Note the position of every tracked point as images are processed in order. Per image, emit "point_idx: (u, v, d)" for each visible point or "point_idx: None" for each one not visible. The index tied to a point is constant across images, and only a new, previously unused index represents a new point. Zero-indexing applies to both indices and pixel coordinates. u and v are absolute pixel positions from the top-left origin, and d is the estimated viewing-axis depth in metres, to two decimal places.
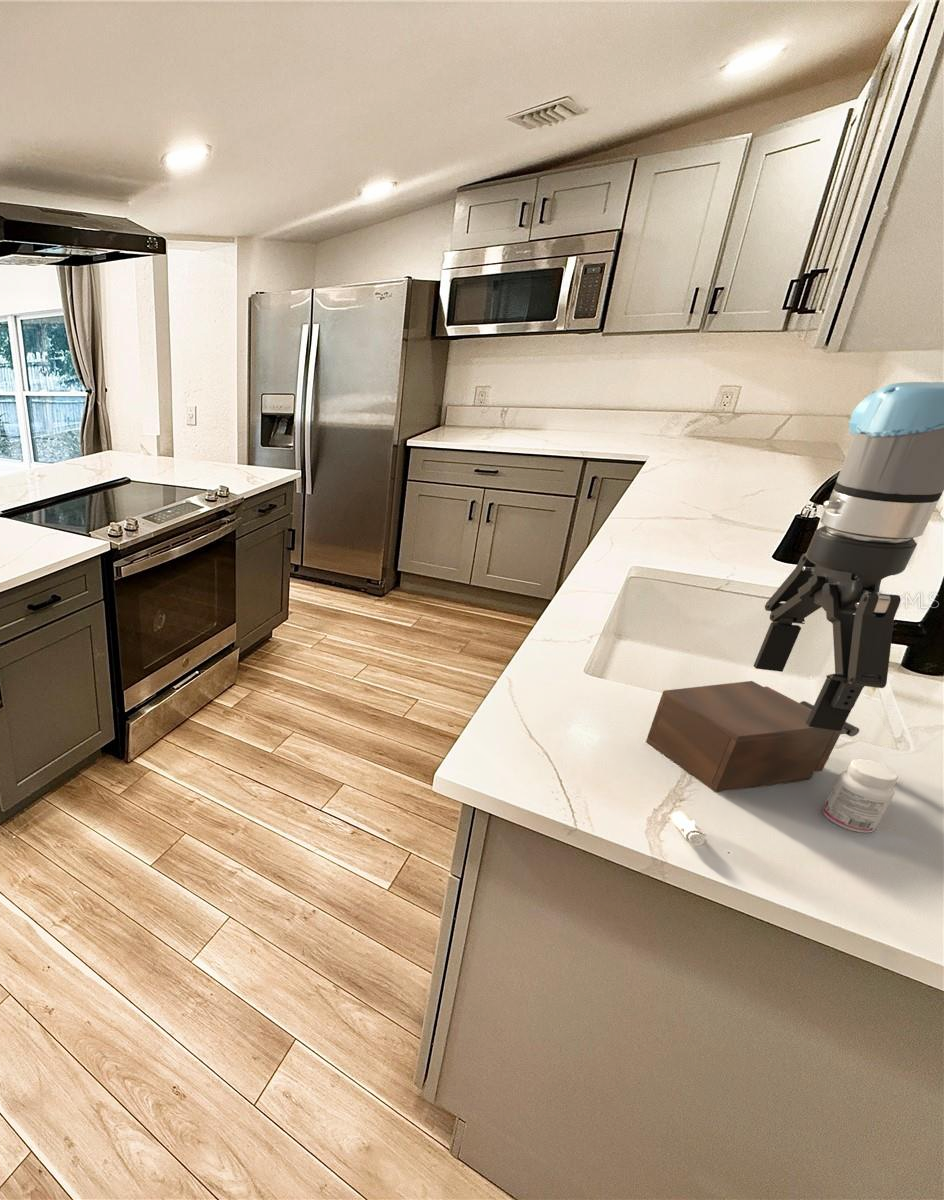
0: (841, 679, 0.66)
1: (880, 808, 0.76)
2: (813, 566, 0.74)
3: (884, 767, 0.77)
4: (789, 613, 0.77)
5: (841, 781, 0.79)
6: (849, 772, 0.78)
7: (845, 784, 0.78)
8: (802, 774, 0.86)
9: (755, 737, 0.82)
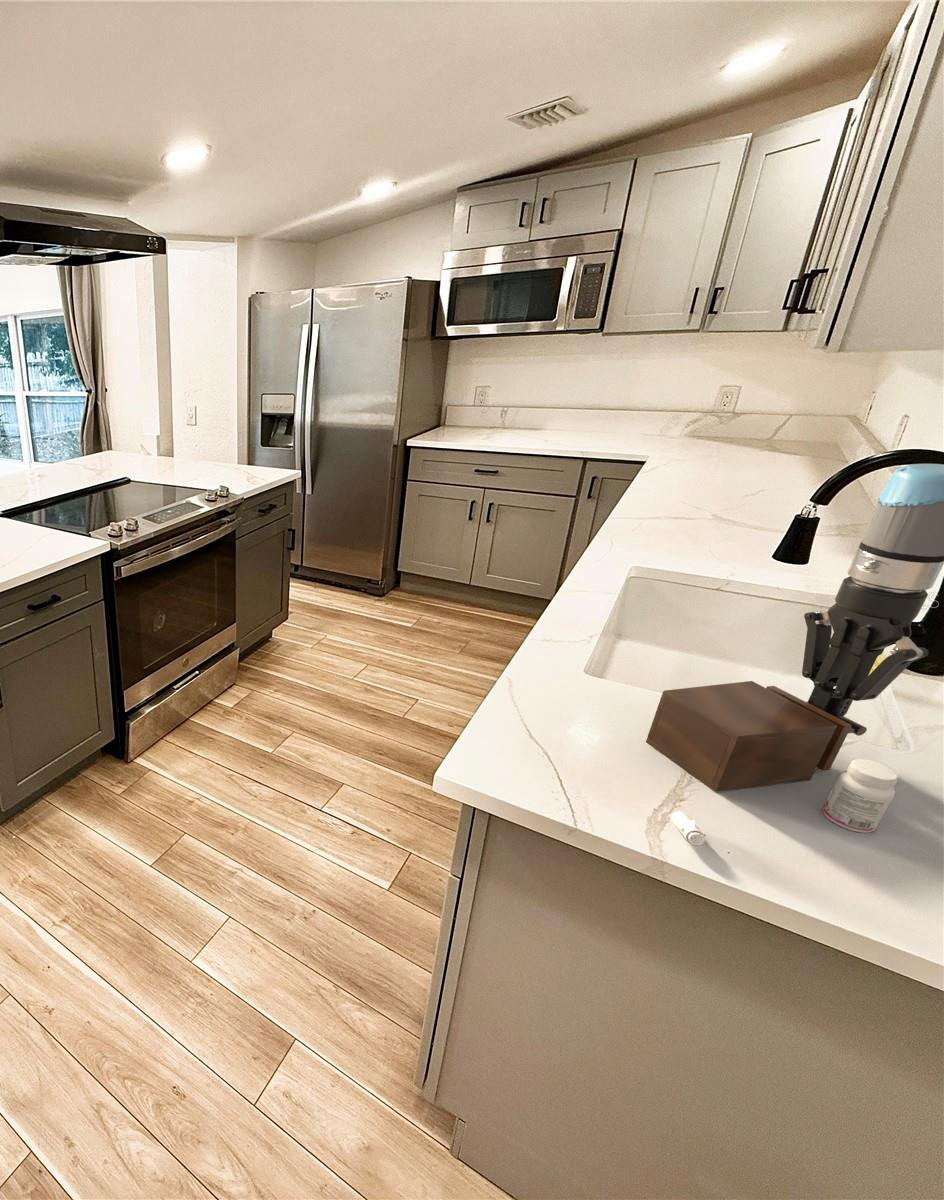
0: (840, 697, 0.87)
1: (880, 808, 0.76)
2: (822, 619, 0.88)
3: (884, 767, 0.77)
4: (833, 671, 0.88)
5: (841, 781, 0.79)
6: (849, 772, 0.78)
7: (845, 784, 0.78)
8: (802, 774, 0.86)
9: (755, 737, 0.82)
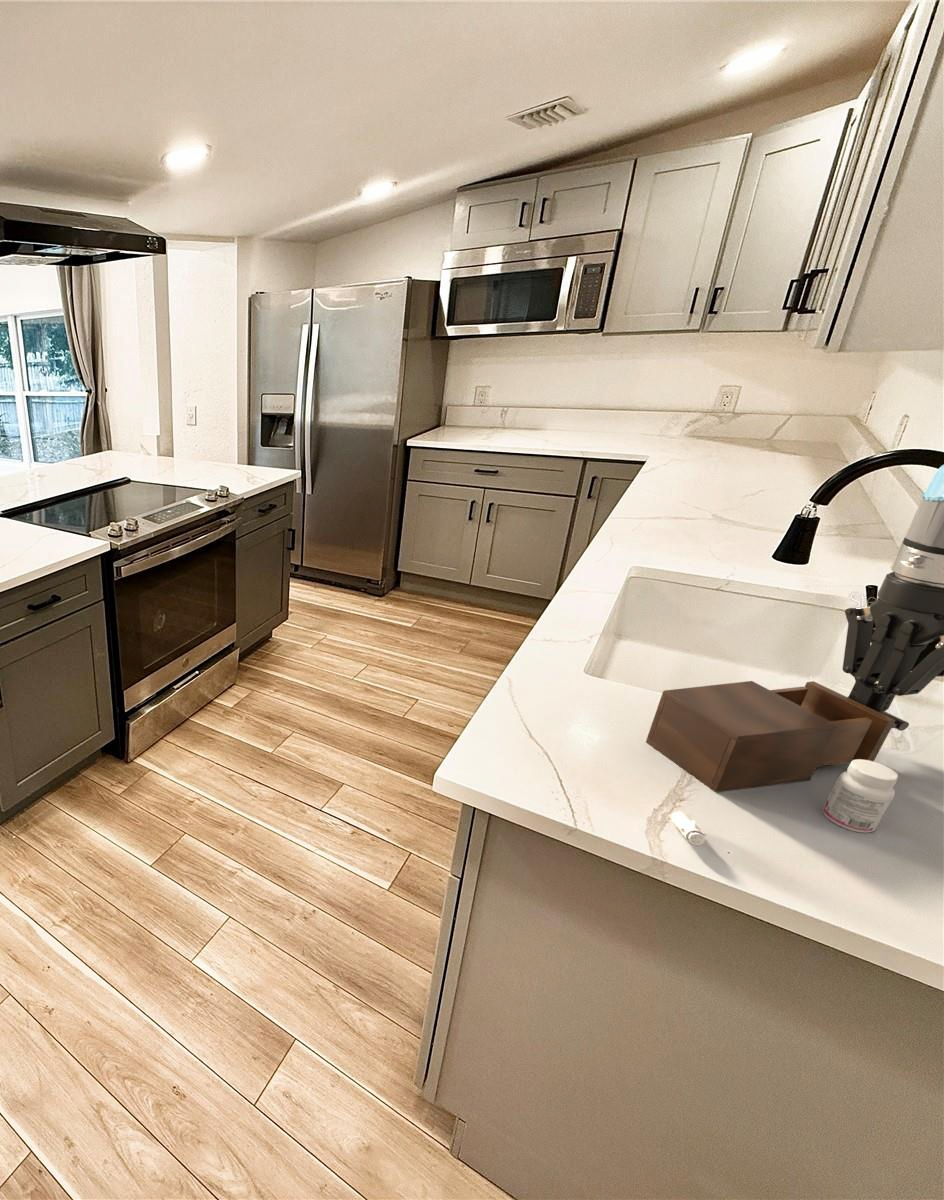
0: (882, 692, 0.87)
1: (880, 808, 0.76)
2: (863, 614, 0.89)
3: (884, 767, 0.77)
4: (875, 667, 0.88)
5: (841, 781, 0.79)
6: (849, 772, 0.78)
7: (845, 784, 0.78)
8: (802, 774, 0.86)
9: (755, 737, 0.82)
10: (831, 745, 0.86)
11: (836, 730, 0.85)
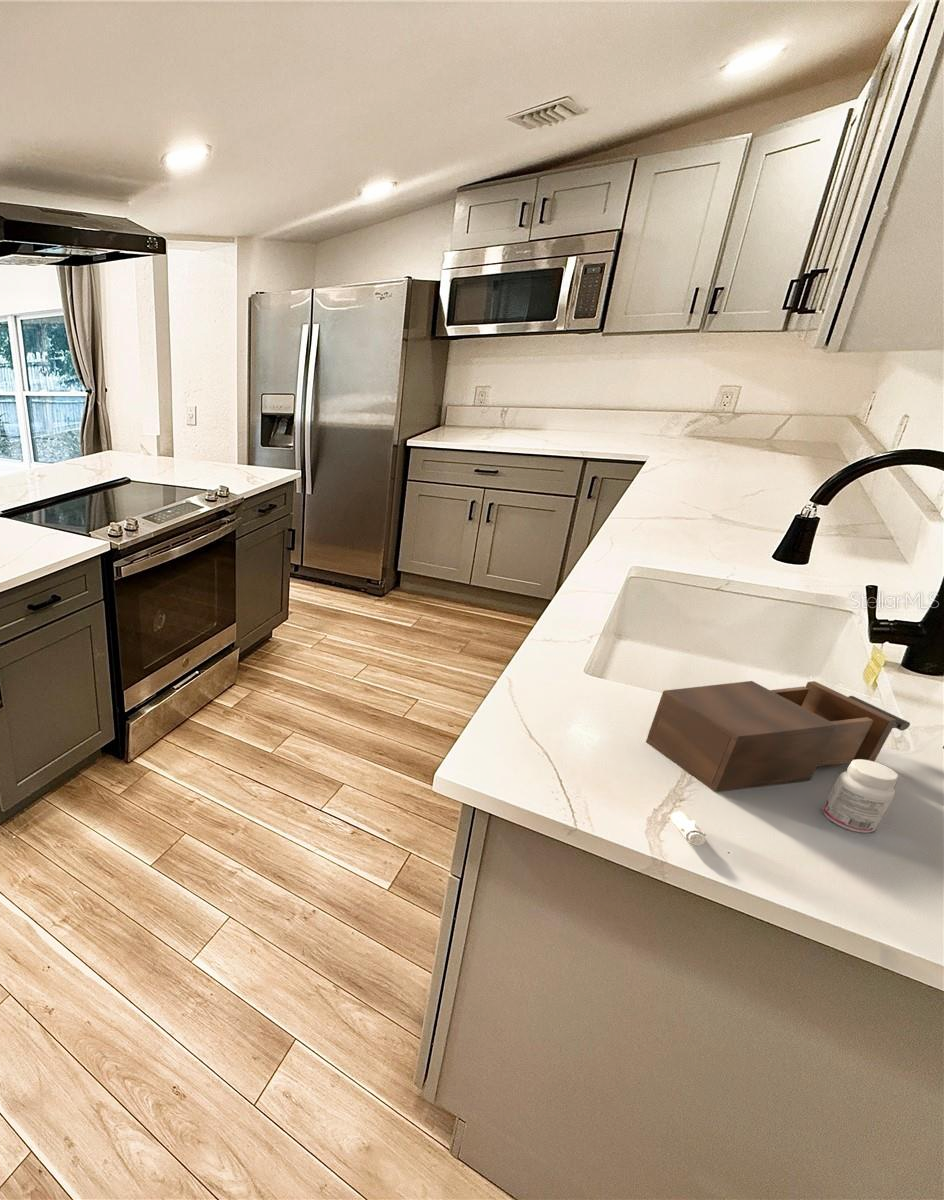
0: None
1: (880, 808, 0.76)
2: None
3: (884, 767, 0.77)
4: None
5: (841, 781, 0.79)
6: (849, 772, 0.78)
7: (845, 784, 0.78)
8: (802, 774, 0.86)
9: (755, 737, 0.82)
10: (832, 745, 0.86)
11: (837, 730, 0.85)
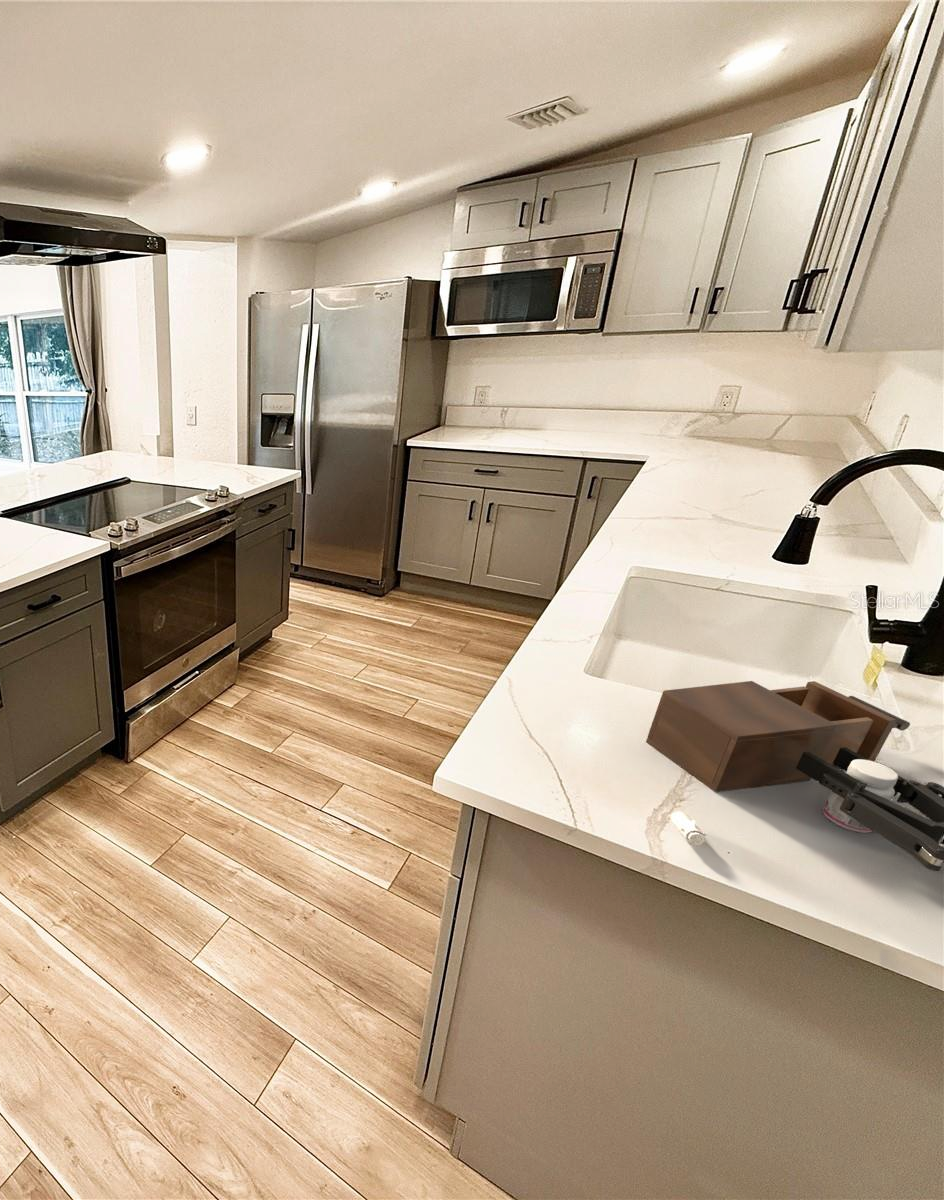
0: None
1: None
2: None
3: (884, 767, 0.77)
4: None
5: None
6: (849, 772, 0.78)
7: None
8: (802, 774, 0.86)
9: (755, 737, 0.82)
10: (832, 745, 0.86)
11: (837, 730, 0.85)
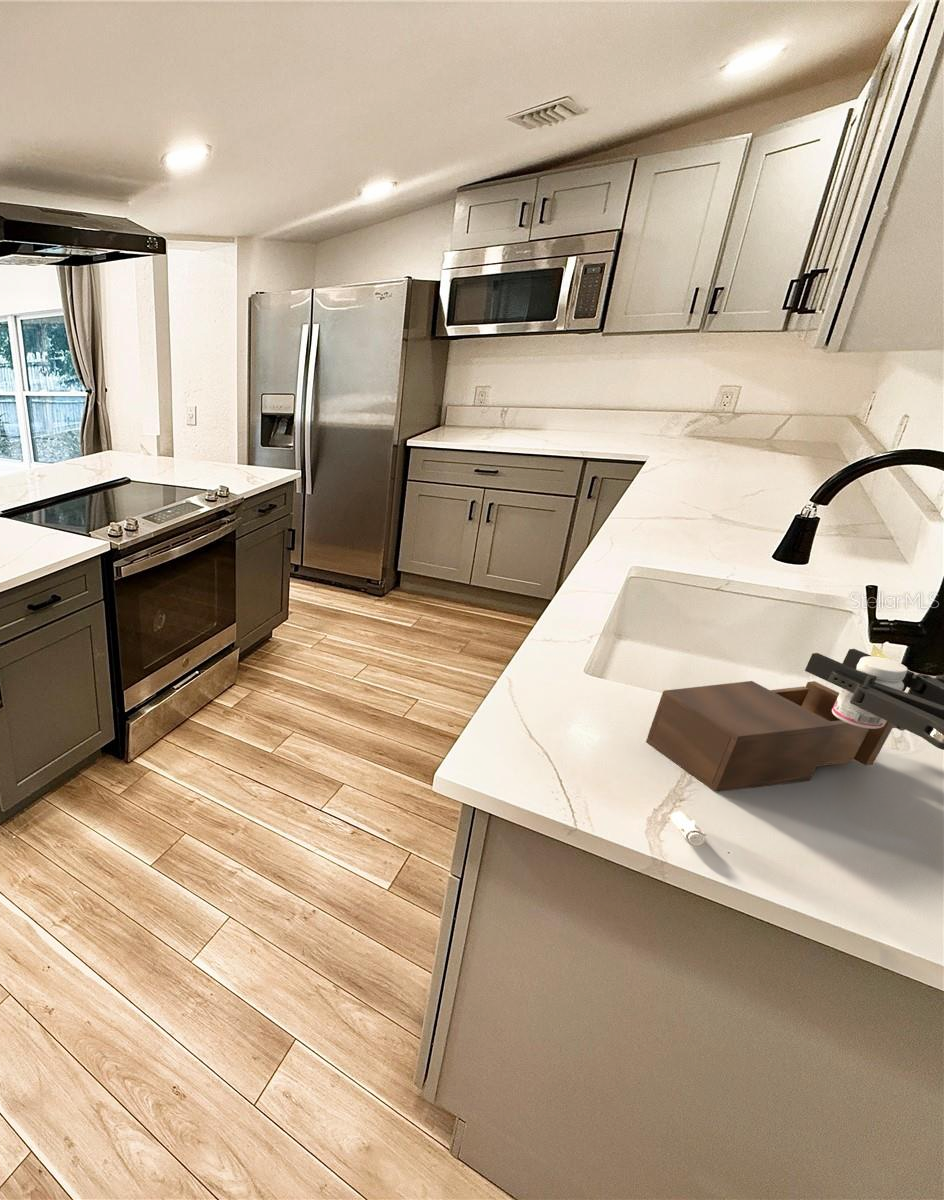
0: None
1: None
2: None
3: (893, 662, 0.77)
4: None
5: None
6: (858, 668, 0.78)
7: None
8: (802, 774, 0.86)
9: (755, 737, 0.82)
10: (832, 745, 0.86)
11: (837, 730, 0.85)
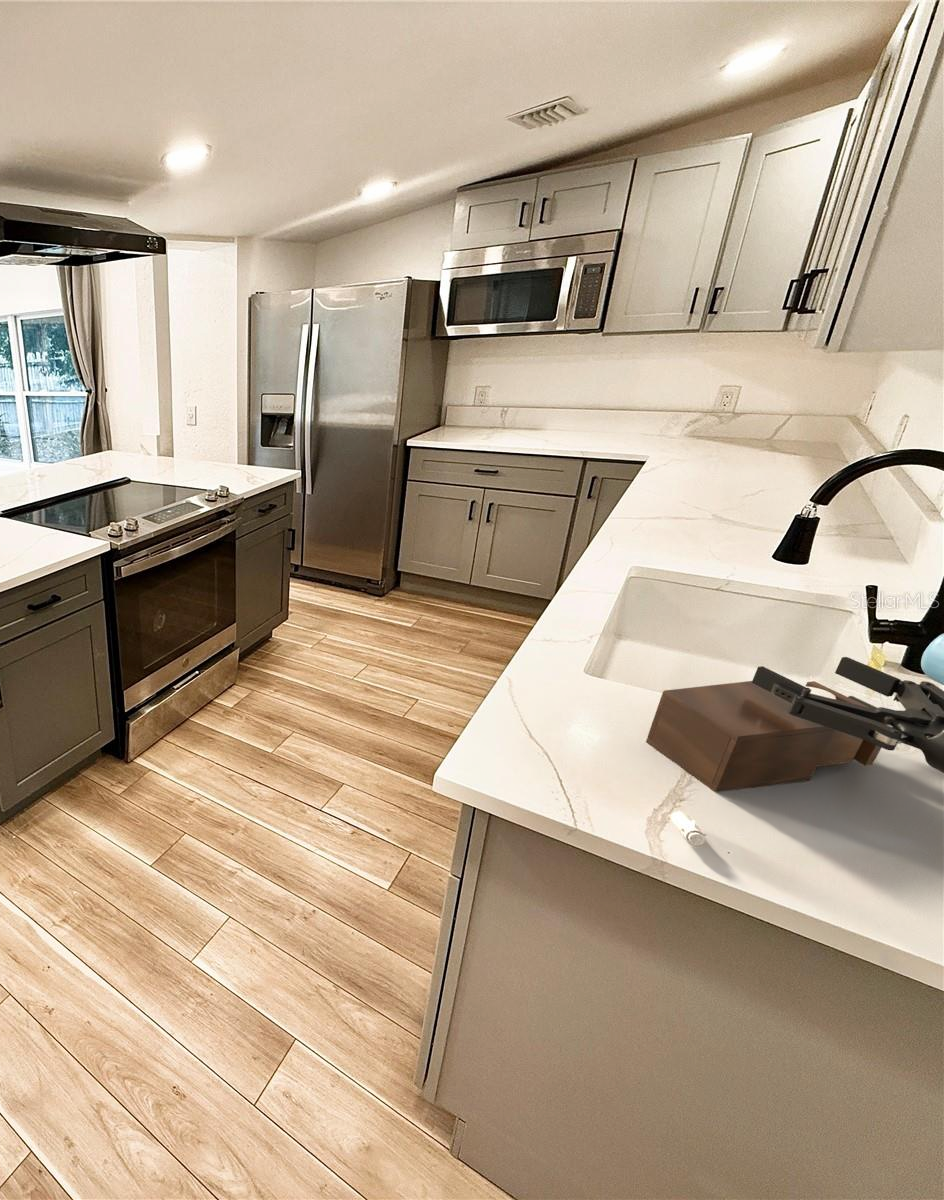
0: None
1: None
2: None
3: (825, 691, 0.88)
4: None
5: None
6: None
7: None
8: (802, 774, 0.86)
9: (755, 737, 0.82)
10: (832, 745, 0.86)
11: None
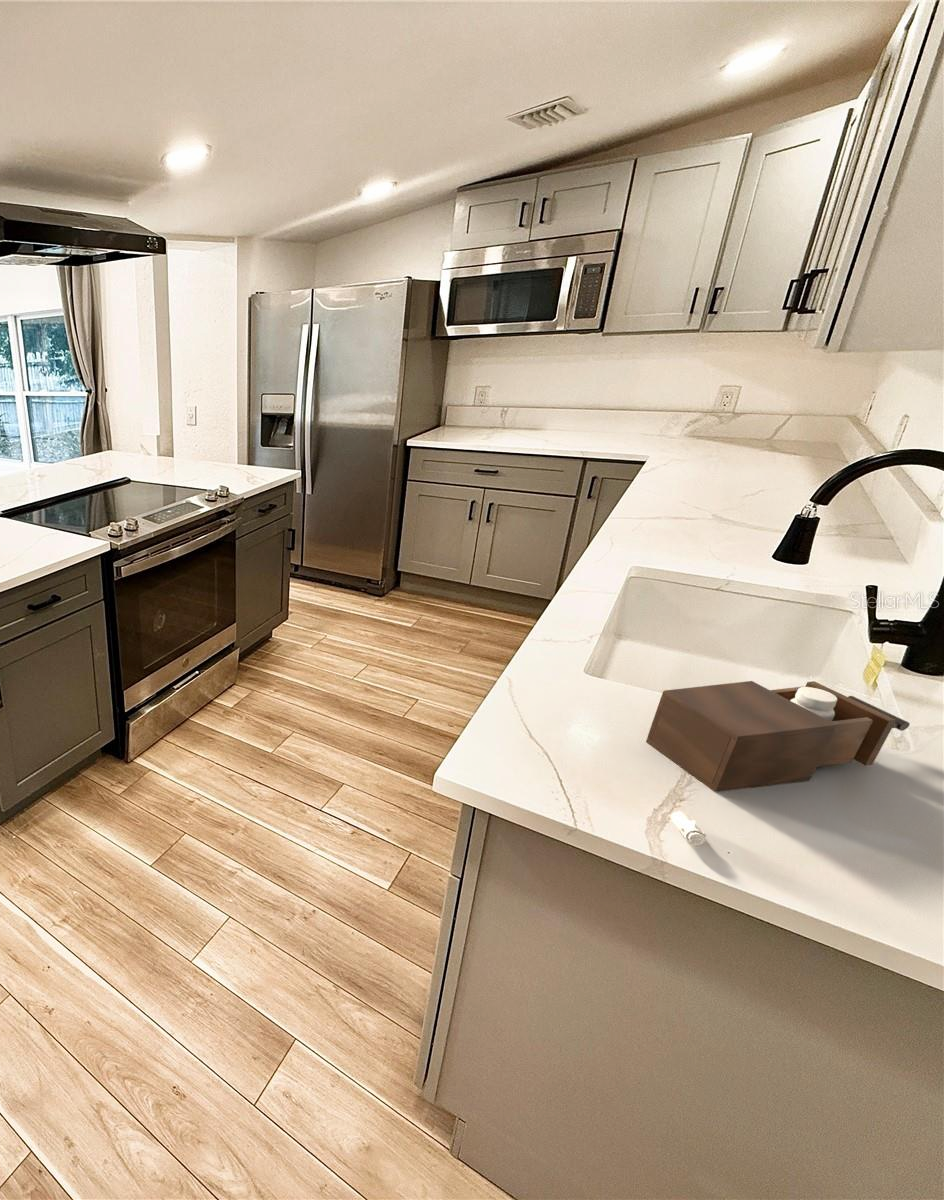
0: None
1: None
2: None
3: (826, 692, 0.88)
4: None
5: None
6: (796, 698, 0.89)
7: None
8: (802, 774, 0.86)
9: (755, 737, 0.82)
10: (832, 745, 0.86)
11: (837, 730, 0.85)
